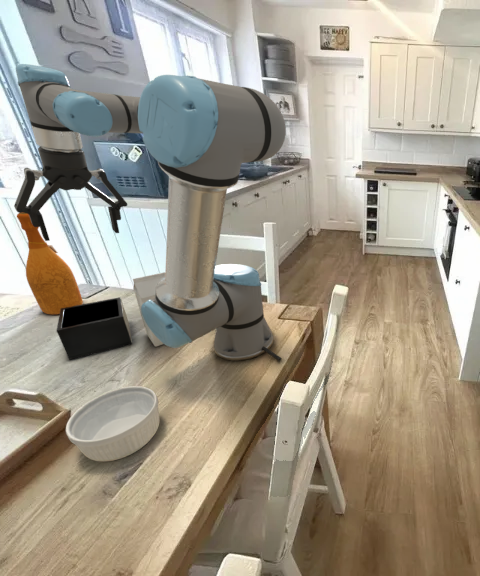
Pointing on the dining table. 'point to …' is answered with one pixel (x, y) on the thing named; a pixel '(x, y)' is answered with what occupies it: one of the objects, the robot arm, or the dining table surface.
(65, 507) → the dining table surface
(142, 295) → the milk carton
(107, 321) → the open black box
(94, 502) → the dining table surface
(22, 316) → the dining table surface
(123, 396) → the ramekin
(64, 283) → the wine bottle
